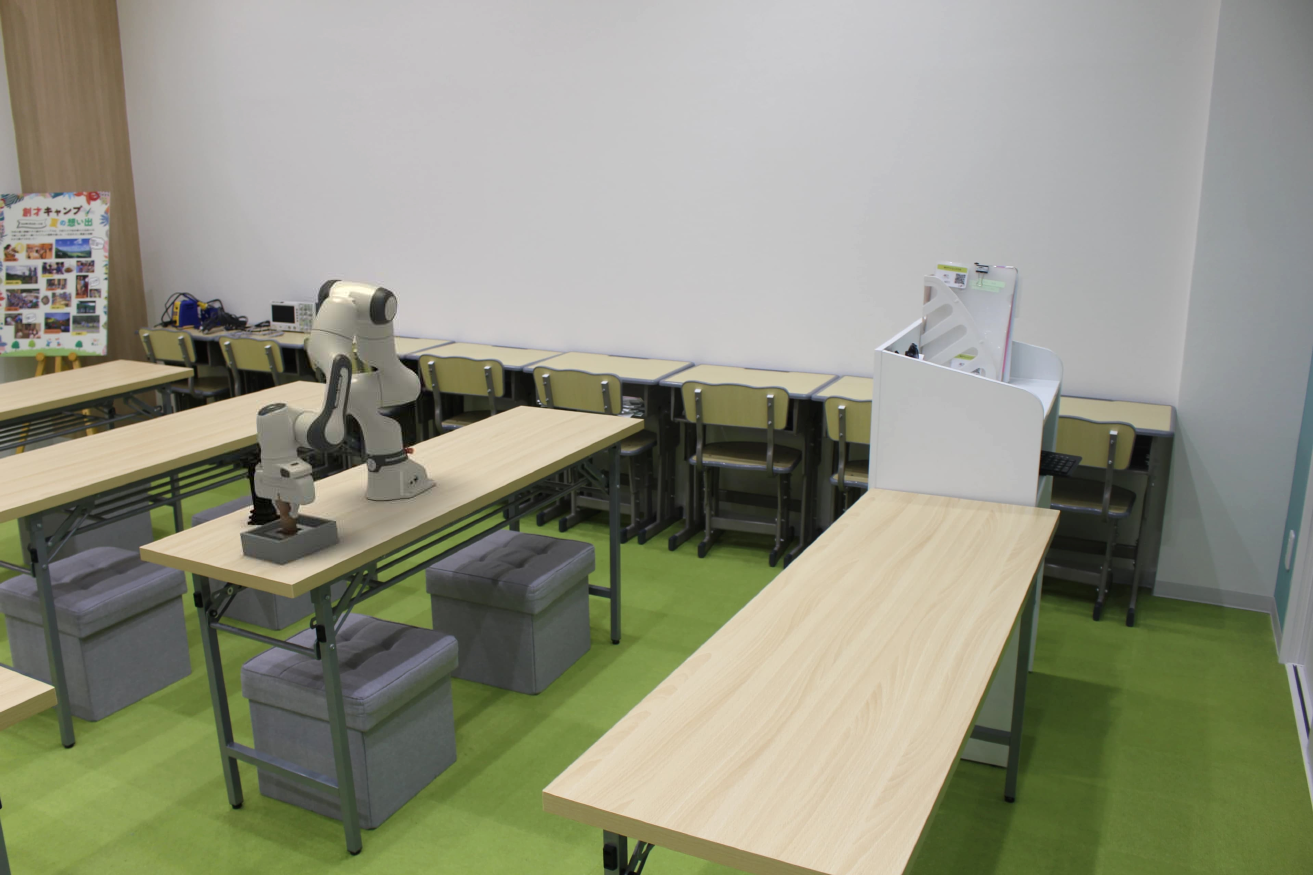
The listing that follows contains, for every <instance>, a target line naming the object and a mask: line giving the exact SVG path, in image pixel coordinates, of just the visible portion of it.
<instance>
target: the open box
mask: <svg viewBox="0 0 1313 875" xmlns="http://www.w3.org/2000/svg"><path fill="white" fill-rule="evenodd" d="M296 524H299V525H303V526H308V527H312V528H313V529H310V530H308V531H305V532H302V533H300V534H297V535H295V536H292V537H289V538H287V539H284V540H281V541H278V540H274V539H270V538H266V537H264V533H267V532H269V531H272V530H275V529H277V528H280V527H282V523H281V519H279V520H276V521H273V522H270V523H267V524H265V525H258V526H256V527H254V528H250V529H248V530H246V531H243V532H240V533H239V536H240V542H241V547H242V553H243V554H242V555H243V556H246V557H251V558H255V559H258V560H262V561H266V562H270V563H275V564H278V565H282V566H284V565H286V564H289V563H290V562H291V563H292V562H294V561H295V560H298V559H302V558H303V557H306V556H308V555H311V554H313V553H315V552H319V551H320V550H323V549H326V548H328V547H330V546H333V545H335V544H338V543H339V542H340V539H339V534H338V533H339V532H338V525H337V521H336V520H333V519H328V518H323V517H318V516H314V515H309V514H304V513H300V512H298V517H297V518H296Z"/></svg>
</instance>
